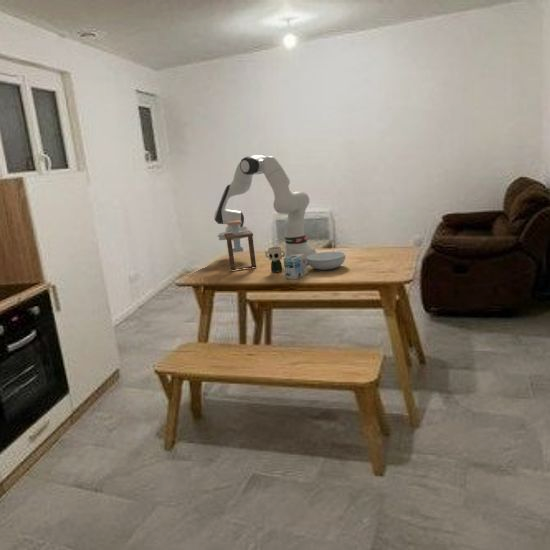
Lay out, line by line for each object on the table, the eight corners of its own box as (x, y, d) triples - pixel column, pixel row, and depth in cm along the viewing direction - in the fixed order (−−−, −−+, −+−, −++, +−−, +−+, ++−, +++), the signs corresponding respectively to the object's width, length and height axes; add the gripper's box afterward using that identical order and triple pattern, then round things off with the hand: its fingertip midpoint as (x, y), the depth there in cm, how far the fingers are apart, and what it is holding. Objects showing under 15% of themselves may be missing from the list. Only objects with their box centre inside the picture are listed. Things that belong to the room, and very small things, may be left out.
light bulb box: (295, 279, 245) (293, 258, 242) (284, 278, 249) (282, 258, 246) (307, 274, 253) (305, 253, 250) (296, 273, 257) (294, 253, 254)
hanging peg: (230, 250, 299) (227, 221, 295) (243, 249, 301) (240, 219, 296) (232, 253, 292) (228, 223, 287) (245, 251, 293) (241, 221, 288)
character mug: (265, 273, 264) (262, 249, 261) (269, 270, 271) (266, 247, 267) (284, 272, 261) (282, 248, 258) (288, 269, 267) (285, 246, 264)
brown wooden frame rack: (228, 267, 289) (224, 233, 284) (253, 263, 291) (249, 230, 286) (230, 272, 276) (226, 237, 271) (257, 268, 278) (252, 233, 273)
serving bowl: (348, 262, 268) (347, 250, 266) (343, 272, 248) (342, 259, 247) (311, 264, 274) (310, 252, 272) (303, 273, 254) (302, 261, 253)
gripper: (216, 230, 304) (218, 233, 291) (249, 226, 307) (252, 229, 294) (218, 240, 306) (219, 244, 292) (250, 236, 309) (253, 239, 295)
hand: (236, 236), depth 293 cm, fingers closed on hanging peg, 4 cm apart
